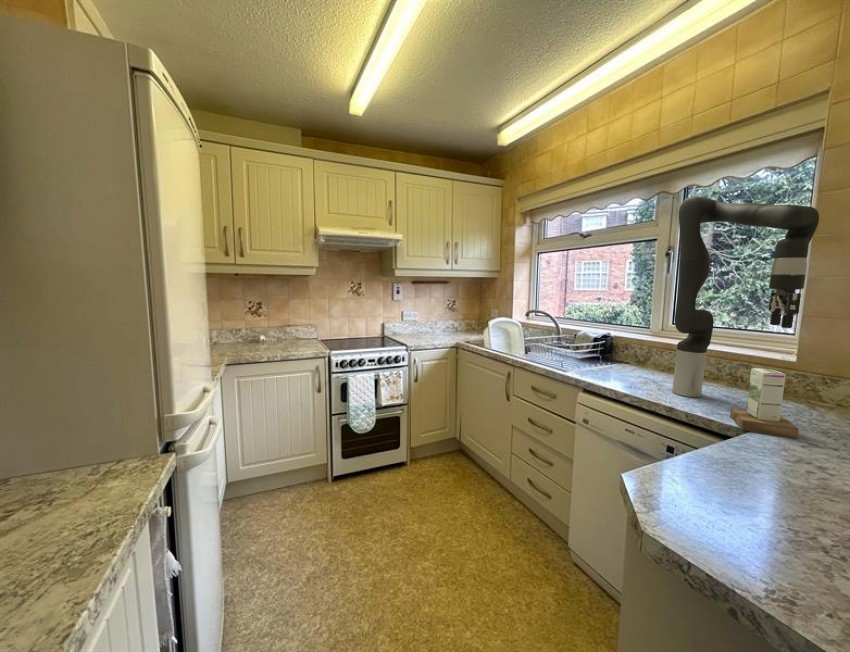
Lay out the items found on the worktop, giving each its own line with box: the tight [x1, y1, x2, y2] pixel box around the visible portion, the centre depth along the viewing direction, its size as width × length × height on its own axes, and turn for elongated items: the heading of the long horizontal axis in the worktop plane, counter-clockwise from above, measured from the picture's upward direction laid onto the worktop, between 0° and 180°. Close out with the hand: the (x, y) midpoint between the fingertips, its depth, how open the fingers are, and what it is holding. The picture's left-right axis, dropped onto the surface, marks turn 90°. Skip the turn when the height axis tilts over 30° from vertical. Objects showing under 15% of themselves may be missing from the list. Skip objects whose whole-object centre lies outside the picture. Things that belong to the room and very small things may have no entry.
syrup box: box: [745, 367, 787, 421], centre depth 106 cm, size 6×6×14 cm
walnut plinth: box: [729, 407, 800, 440], centre depth 107 cm, size 12×12×3 cm
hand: (780, 326), depth 110 cm, fingers open, 8 cm apart
